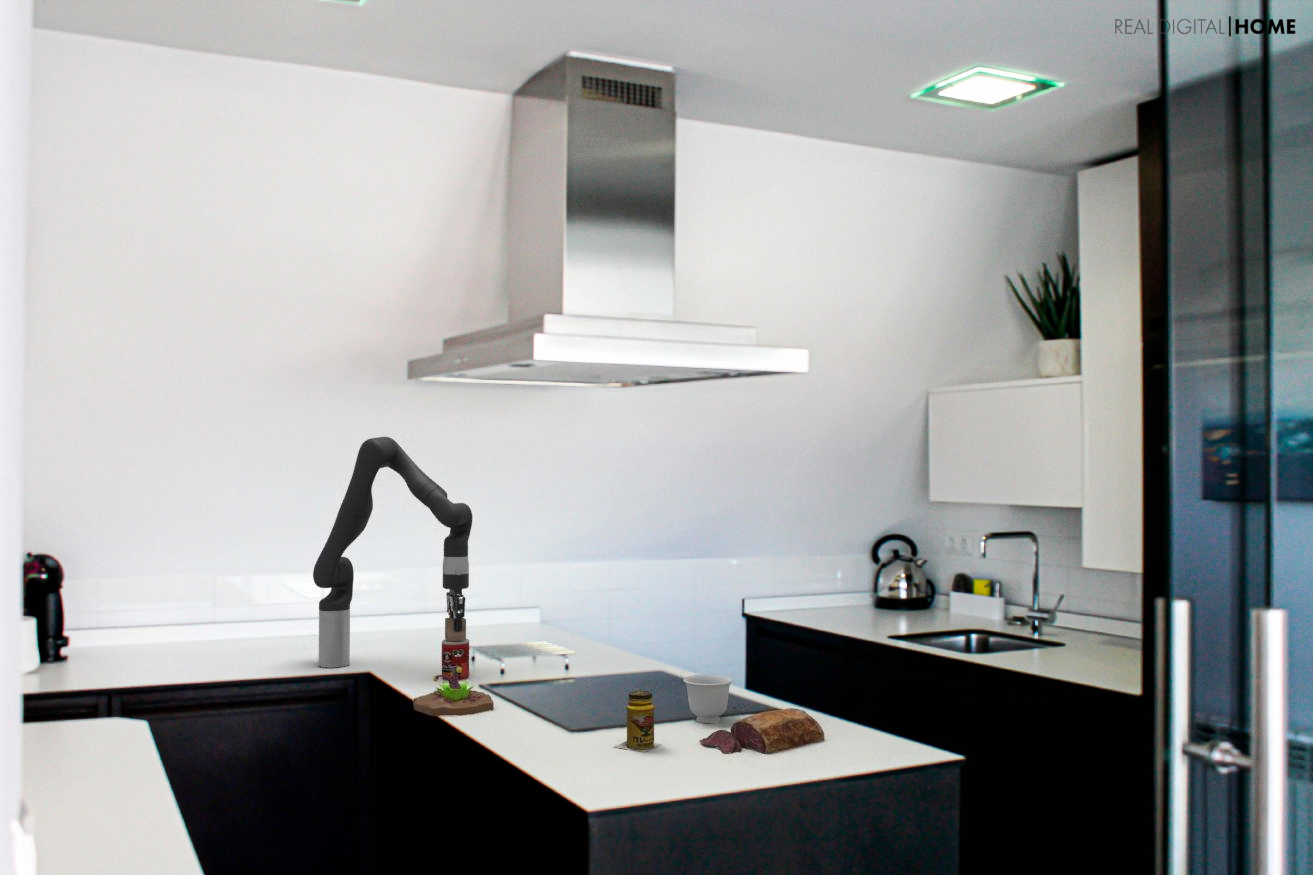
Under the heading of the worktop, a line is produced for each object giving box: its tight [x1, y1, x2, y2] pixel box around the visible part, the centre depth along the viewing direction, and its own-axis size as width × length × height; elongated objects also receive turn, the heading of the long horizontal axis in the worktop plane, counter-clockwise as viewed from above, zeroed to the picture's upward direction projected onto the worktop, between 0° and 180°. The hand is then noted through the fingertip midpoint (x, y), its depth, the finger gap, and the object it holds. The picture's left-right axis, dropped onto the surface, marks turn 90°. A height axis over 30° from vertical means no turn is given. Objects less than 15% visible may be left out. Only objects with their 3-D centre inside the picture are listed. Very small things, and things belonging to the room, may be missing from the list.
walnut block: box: [444, 617, 467, 641], centre depth 320 cm, size 5×5×6 cm
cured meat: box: [698, 707, 825, 755], centre depth 247 cm, size 18×25×7 cm
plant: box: [412, 665, 495, 717], centre depth 282 cm, size 20×20×11 cm
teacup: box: [683, 673, 733, 724], centre depth 269 cm, size 12×15×10 cm
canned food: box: [441, 638, 470, 681], centre depth 320 cm, size 8×8×11 cm
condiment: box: [613, 690, 662, 753], centre depth 244 cm, size 7×8×12 cm
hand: (455, 629), depth 320 cm, fingers open, 5 cm apart
